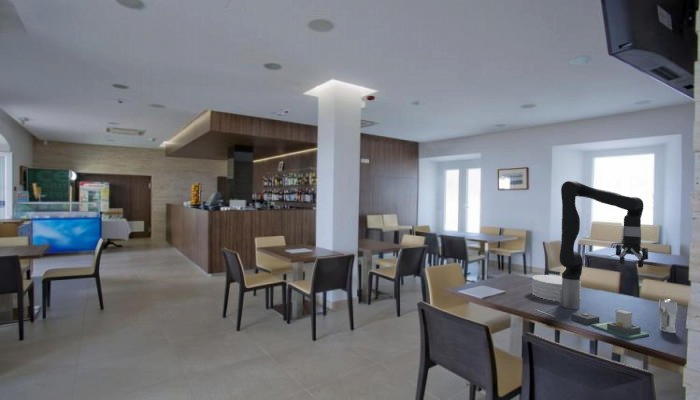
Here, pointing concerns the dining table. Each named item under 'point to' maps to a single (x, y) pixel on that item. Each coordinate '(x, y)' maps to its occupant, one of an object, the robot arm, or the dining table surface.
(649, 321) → the dining table surface
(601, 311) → the dining table surface
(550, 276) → the plate stack
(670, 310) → the beer glass
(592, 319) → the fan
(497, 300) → the dining table surface
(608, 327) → the board
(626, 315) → the plug
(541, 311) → the butter knife
